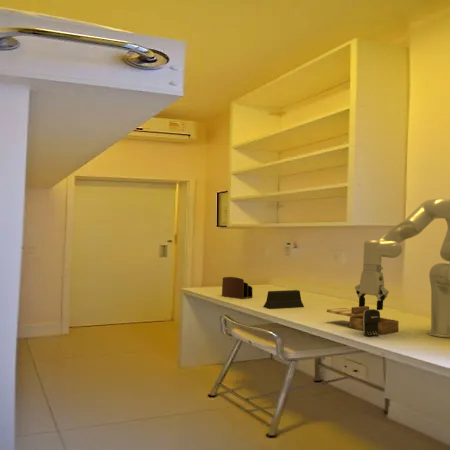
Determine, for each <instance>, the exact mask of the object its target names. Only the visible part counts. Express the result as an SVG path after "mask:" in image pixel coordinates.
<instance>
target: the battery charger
mask: <svg viewBox="0 0 450 450" xmlns="http://www.w3.org/2000/svg"><path fill="white" fill-rule="evenodd" d="M380 318H381V311H380V310H377V309H376V308H373V309H372V308H371V309H370V308H369V309H367V310H364V312H363V331H362V335H363V337H369V338H370V337H378V336H379V333H378V322H380Z"/></svg>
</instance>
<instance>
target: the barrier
mask: <svg viewBox="0 0 450 450" xmlns="http://www.w3.org/2000/svg"><path fill="white" fill-rule="evenodd" d="M266 296H267V297H266V301H265V303H264V305H263V308H264V309H268V310H283V309H296V308H297V309H298V308H300V309H301V308H305V305H304V303H303V301H302V296H301V291H300V290H298V289H290V290H289V289H287V290H269V291H268V292H267V294H266Z"/></svg>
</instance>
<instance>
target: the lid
mask: <svg viewBox="0 0 450 450" xmlns="http://www.w3.org/2000/svg"><path fill="white" fill-rule="evenodd" d="M367 309H370V306H367V305H365V306H364V307H359V306H352V307H351V308H349V307H348V308H347V307H340V308H339V307H338V308H329V309H326V313H329V314H334V315H340V316H344V317H345V316H346V317H349V318H350V317H359V316H363V312H364V310H367Z"/></svg>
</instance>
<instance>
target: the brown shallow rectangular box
mask: <svg viewBox="0 0 450 450" xmlns="http://www.w3.org/2000/svg"><path fill="white" fill-rule="evenodd" d="M399 322H400V321H399V320H397V319H391V318H386V317H380V322H378V333H379V335H388V334H393V333H394V334H395V333H399V324H400V323H399ZM349 328H350V329H353V330H357V331H362V332H363V316H359V317H349ZM379 335H378V336H379Z"/></svg>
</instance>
